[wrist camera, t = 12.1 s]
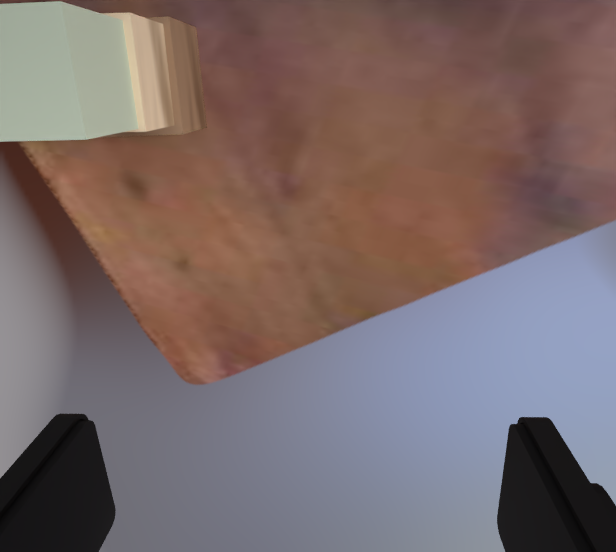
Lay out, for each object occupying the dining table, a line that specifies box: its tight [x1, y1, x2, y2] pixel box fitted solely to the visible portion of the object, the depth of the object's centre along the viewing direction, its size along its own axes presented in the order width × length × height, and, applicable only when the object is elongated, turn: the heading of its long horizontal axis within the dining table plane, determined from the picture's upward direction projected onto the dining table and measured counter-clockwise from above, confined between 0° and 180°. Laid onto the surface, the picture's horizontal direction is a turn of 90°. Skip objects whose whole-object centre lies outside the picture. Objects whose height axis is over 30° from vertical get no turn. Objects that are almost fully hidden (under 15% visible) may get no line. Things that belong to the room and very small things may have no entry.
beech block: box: [101, 13, 174, 132], centre depth 29 cm, size 6×6×5 cm
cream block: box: [101, 16, 207, 137], centre depth 34 cm, size 7×7×6 cm
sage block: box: [0, 1, 139, 142], centre depth 24 cm, size 6×6×6 cm
